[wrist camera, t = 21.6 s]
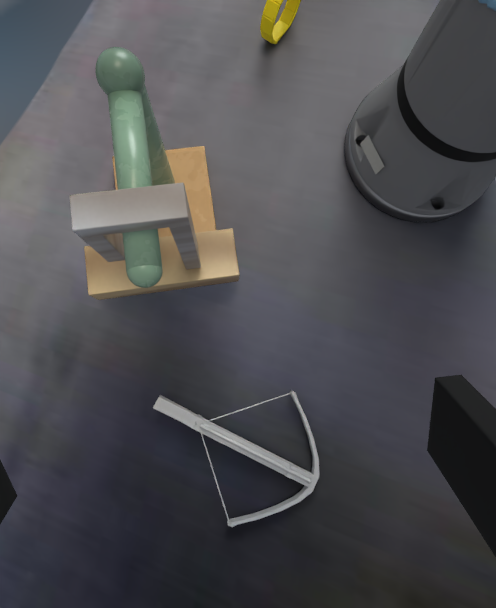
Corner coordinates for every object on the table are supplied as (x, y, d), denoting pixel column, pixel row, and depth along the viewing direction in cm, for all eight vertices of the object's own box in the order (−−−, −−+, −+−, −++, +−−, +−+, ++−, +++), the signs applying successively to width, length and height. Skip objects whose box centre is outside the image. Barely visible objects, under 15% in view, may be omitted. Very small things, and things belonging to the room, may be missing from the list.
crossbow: (339, 415, 36) (347, 419, 34) (282, 544, 34) (286, 556, 32) (190, 338, 36) (189, 338, 34) (123, 465, 34) (118, 472, 32)
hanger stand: (227, 311, 37) (224, 268, 20) (133, 324, 36) (48, 291, 19) (205, 153, 39) (185, -4, 22) (116, 163, 38) (27, 10, 22)
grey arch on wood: (238, 281, 33) (247, 228, 20) (98, 300, 32) (12, 257, 19) (231, 237, 34) (236, 158, 21) (94, 254, 33) (8, 182, 20)
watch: (274, 58, 41) (281, 7, 35) (252, 45, 41) (256, -8, 35) (303, 19, 42) (315, -37, 36) (282, 6, 42) (290, -52, 36)
